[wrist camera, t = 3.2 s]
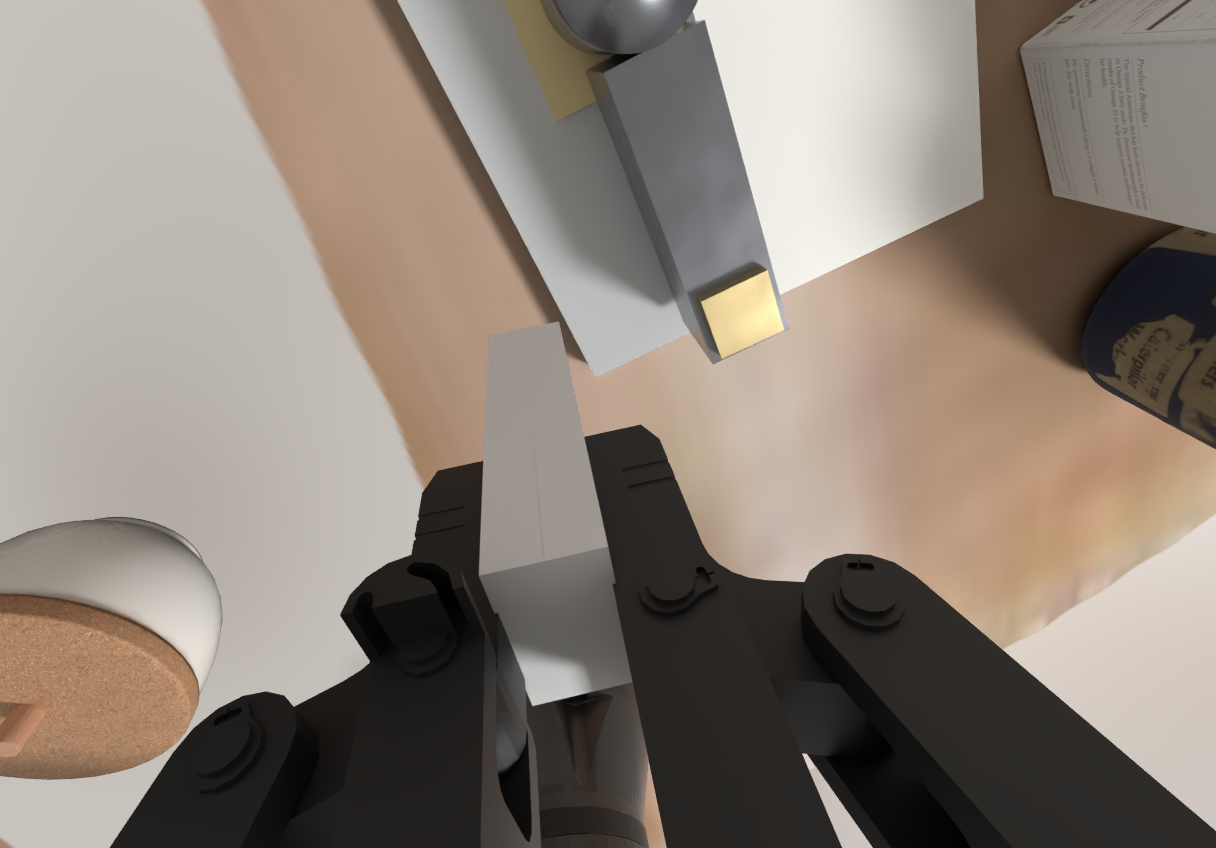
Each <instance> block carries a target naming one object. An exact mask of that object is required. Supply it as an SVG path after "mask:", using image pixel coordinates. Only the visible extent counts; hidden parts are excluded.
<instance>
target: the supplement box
mask: <svg viewBox="0 0 1216 848" xmlns="http://www.w3.org/2000/svg"><path fill="white" fill-rule="evenodd" d="M1020 53H1021V57H1022V61H1023V65H1024V69H1025V74H1026V78H1027V83H1028V87H1029V91H1030V95H1031V100H1032V104H1033V108H1034V113H1035V117H1036V121H1037V126H1038V130H1039V135H1040V139H1041V143H1042V148H1043V152H1044V157H1045V161H1046V165H1047V170H1048V174H1049V179H1050V183H1051V188H1052V192H1053V195H1054V196H1058V197H1063V198H1067V199H1071V200H1075V201H1079V202H1084V203H1088V204H1092V205H1096V206H1101V207H1105V208H1109V209H1113V210H1118V211H1122V212H1126V213H1130V214H1135V215H1139V216H1143V217H1148V218H1152V219H1156V220H1160V221H1164V222H1168V223H1172V224H1177V225H1181V226H1185V227H1189V228H1194V229H1198V230H1202V231H1206V232H1210V233H1215V234H1216V0H1081V1H1080V2H1078V3H1077V4H1076V5H1074V6H1073V7H1072V8H1070V9H1069V10H1068V11H1066V12H1065V13H1064V14H1062V15H1061V16H1060V17H1058V18H1057V19H1056V20H1054V21H1053V22H1052V23H1050V24H1049V25H1048V26H1047V27H1045V28H1044V29H1043V30H1041V31H1040V32H1038V33H1037V34H1036V35H1034V36H1033V37H1032V38H1031V39H1029V40H1028V41H1027V42H1025V43H1024V44H1023V45H1022V46H1021V47H1020Z"/></svg>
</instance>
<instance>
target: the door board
mask: <svg viewBox="0 0 1216 848" xmlns="http://www.w3.org/2000/svg"><path fill="white" fill-rule="evenodd" d="M397 1H398V3H399V5H400V7H401V9H402V10H403V12H404V14H405V16H406V18H407V20H408V22H409V24H410V26H411V28H412V29H413V31H414V33H415V35H416V37H417V39H418V41H419V43H420V45H421V47H422V48H423V50H424V52H425V54H426V56H427V58H428V60H429V62H430V64H431V66H432V68H433V69H434V71H435V73H436V75H437V77H438V79H439V81H440V83H441V85H442V87H443V88H444V90H445V92H446V94H447V96H448V98H449V100H450V102H451V104H452V106H453V108H454V109H455V111H456V113H457V115H458V117H459V119H460V121H461V123H462V125H463V127H464V128H465V130H466V132H467V134H468V136H469V138H470V140H471V142H472V144H473V146H474V147H475V149H476V151H477V153H478V155H479V157H480V159H481V161H482V163H483V165H484V167H485V168H486V170H487V172H488V174H489V176H490V178H491V180H492V182H493V184H494V186H495V187H496V189H497V191H498V193H499V195H500V197H501V199H502V201H503V203H504V205H505V206H506V208H507V210H508V212H509V214H510V216H511V218H512V220H513V222H514V224H515V226H516V227H517V229H518V231H519V233H520V235H521V237H522V239H523V241H524V243H525V245H526V246H527V248H528V250H529V252H530V254H531V256H532V258H533V260H534V262H535V264H536V265H537V267H538V269H539V271H540V273H541V275H542V277H543V279H544V281H545V283H546V285H547V286H548V288H549V290H550V292H551V294H552V296H553V298H554V300H555V302H556V304H557V305H558V307H559V309H560V311H561V313H562V315H563V317H564V319H565V321H566V323H567V325H568V326H569V328H570V330H571V332H572V334H573V336H574V338H575V340H576V342H577V344H578V345H579V347H580V349H581V351H582V353H583V355H584V357H585V359H586V361H587V363H588V364H589V366H590V368H591V370H592V372H593V374H594V376H595V377H597V376H599V375H602V374H604V373H606V372H608V371H610V370H612V369H614V368H616V367H618V366H621V365H623V364H625V363H627V362H629V361H631V360H633V359H635V358H637V357H640V356H642V355H644V354H646V353H648V352H650V351H652V350H654V349H656V348H659V347H661V346H663V345H665V344H667V343H669V342H671V341H673V340H675V339H678V338H680V337H682V336H684V335H686V334H688V333H690V331H689V330H688V328H687V327H686V325H685V324H684V322H683V320H682V317H681V315H680V312H679V310H678V307H677V304H676V302H675V299H674V297H673V294H672V292H671V289H670V287H669V284H668V281H667V279H666V276H665V274H664V271H663V269H662V266H661V264H660V261H659V259H658V256H657V253H656V251H655V248H654V246H653V243H652V241H651V238H650V236H649V233H648V230H647V228H646V225H645V223H644V220H643V218H642V215H641V213H640V210H639V207H638V205H637V202H636V200H635V197H634V195H633V192H632V190H631V187H630V184H629V182H628V179H627V177H626V174H625V172H624V169H623V167H622V164H621V161H620V159H619V156H618V154H617V151H616V149H615V146H614V144H613V141H612V139H611V136H610V133H609V131H608V128H607V126H606V123H605V121H604V118H603V116H602V113H601V110H600V108H599V105H598V103H597V100H596V98H595V95H594V93H593V90H592V87H591V85H590V82H589V80H588V77H587V75H586V72H585V70H587V69H589V68H591V67H592V66H594V65H596V64H598V63H600V62H602V61H604V60H606V59H608V58H609V57H611V56H613V55H615V54H613V55H596V54H590V53H586V52H583V51H581V50H579V49H577V48H575V47H573V46H571V45H570V44H569V43H567V42H566V41H565V40H564V39H563V38H562V37H561V36H560V35H559V34H558V33H557V32H556V30H555V29H554V28H553V27H552V25H551V23H550V22H549V20H548V18H547V16H546V14H545V12H544V10H543V7H542V4H541V1H540V0H397ZM700 20H705V22H706V26H707V30H708V33H709V37H710V41H711V44H712V48H713V52H714V55H715V59H716V63H717V66H718V70H719V74H720V77H721V81H722V85H723V88H724V92H725V96H726V99H727V103H728V107H729V110H730V114H731V118H732V121H733V125H734V129H735V132H736V136H737V140H738V143H739V147H740V151H741V154H742V158H743V162H744V165H745V169H746V173H747V176H748V180H749V184H750V187H751V191H752V195H753V198H754V202H755V206H756V209H757V213H758V217H759V220H760V224H761V228H762V231H763V235H764V239H765V242H766V246H767V249H768V253H769V257H770V260H771V264H772V268H773V271H774V275H775V279H776V282H777V286H778V290H779V293H780V295H781V294H783V293H785V292H787V291H789V290H791V289H793V288H795V287H798V286H800V285H802V284H804V283H806V282H808V281H810V280H812V279H814V278H817V277H819V276H821V275H823V274H825V273H827V272H829V271H831V270H833V269H836V268H838V267H840V266H842V265H844V264H846V263H848V262H850V261H852V260H855V259H857V258H859V257H861V256H863V255H865V254H867V253H869V252H871V251H874V250H876V249H878V248H880V247H882V246H884V245H886V244H888V243H890V242H893V241H895V240H897V239H899V238H901V237H903V236H905V235H907V234H909V233H912V232H914V231H916V230H918V229H920V228H922V227H924V226H926V225H928V224H931V223H933V222H935V221H937V220H939V219H941V218H943V217H945V216H948V215H950V214H952V213H954V212H956V211H958V210H960V209H962V208H964V207H967V206H969V205H971V204H973V203H975V202H977V201H979V200H981V199H983V176H982V153H981V130H980V106H979V83H978V60H977V37H976V14H975V0H698V1H697V4H696V6H695V8H694V10H693V11H692V13H691V15H690V17H689V18H688V19H687V21H686V22H685V23H690V22H695V21H700Z"/></svg>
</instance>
